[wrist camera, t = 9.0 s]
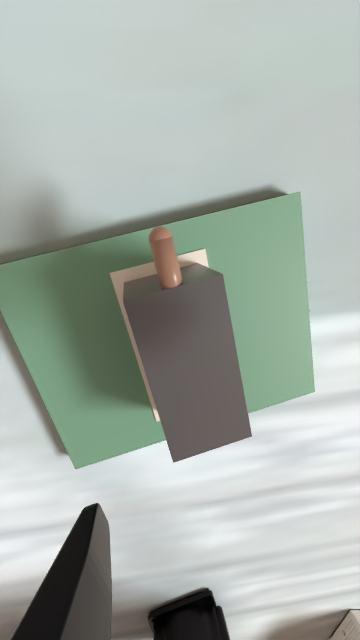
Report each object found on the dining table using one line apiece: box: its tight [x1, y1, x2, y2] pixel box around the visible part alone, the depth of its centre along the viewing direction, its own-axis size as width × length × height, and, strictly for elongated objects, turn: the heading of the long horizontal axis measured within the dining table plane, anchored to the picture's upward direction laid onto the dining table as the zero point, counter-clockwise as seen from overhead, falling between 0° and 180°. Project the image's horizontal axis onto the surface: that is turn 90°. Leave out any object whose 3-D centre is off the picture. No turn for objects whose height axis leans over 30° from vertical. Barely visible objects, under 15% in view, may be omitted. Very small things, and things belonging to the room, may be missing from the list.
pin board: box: [0, 192, 315, 469], centre depth 17 cm, size 18×14×4 cm
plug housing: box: [123, 226, 252, 463], centre depth 15 cm, size 4×12×4 cm, turn 13°
